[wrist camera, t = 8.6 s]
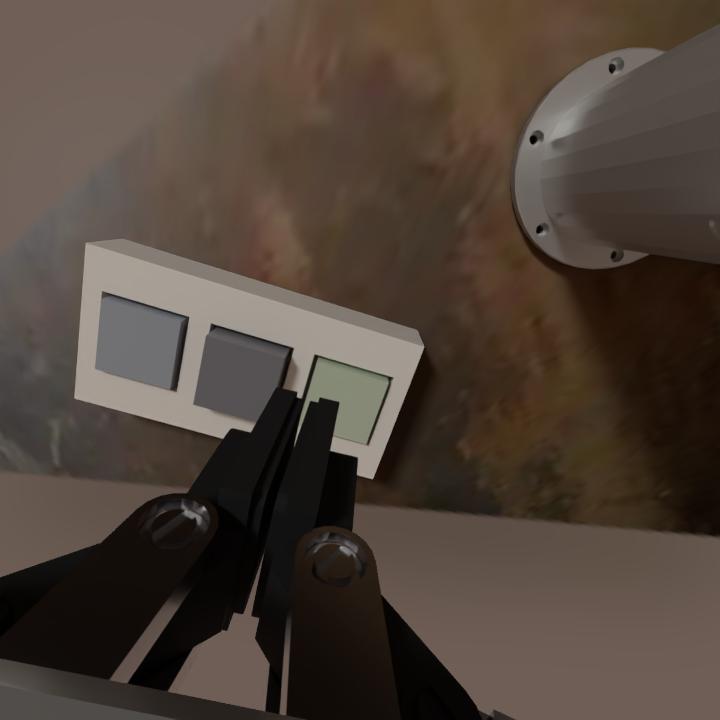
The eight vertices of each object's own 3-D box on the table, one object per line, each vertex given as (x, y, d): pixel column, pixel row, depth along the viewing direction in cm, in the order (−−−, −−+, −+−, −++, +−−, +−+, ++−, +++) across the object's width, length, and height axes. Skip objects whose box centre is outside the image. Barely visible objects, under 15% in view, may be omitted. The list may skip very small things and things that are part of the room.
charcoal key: (292, 344, 28) (284, 358, 25) (276, 405, 30) (266, 425, 27) (222, 322, 28) (206, 335, 25) (209, 386, 29) (193, 404, 27)
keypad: (417, 330, 30) (424, 346, 27) (372, 449, 34) (372, 479, 30) (122, 238, 28) (85, 242, 25) (108, 376, 32) (74, 398, 28)
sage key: (386, 366, 30) (388, 383, 27) (366, 423, 32) (366, 444, 29) (321, 347, 29) (316, 361, 27) (304, 406, 31) (298, 425, 28)
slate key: (199, 311, 29) (180, 321, 26) (188, 373, 30) (169, 390, 27) (128, 289, 28) (101, 298, 25) (120, 354, 30) (95, 369, 27)
